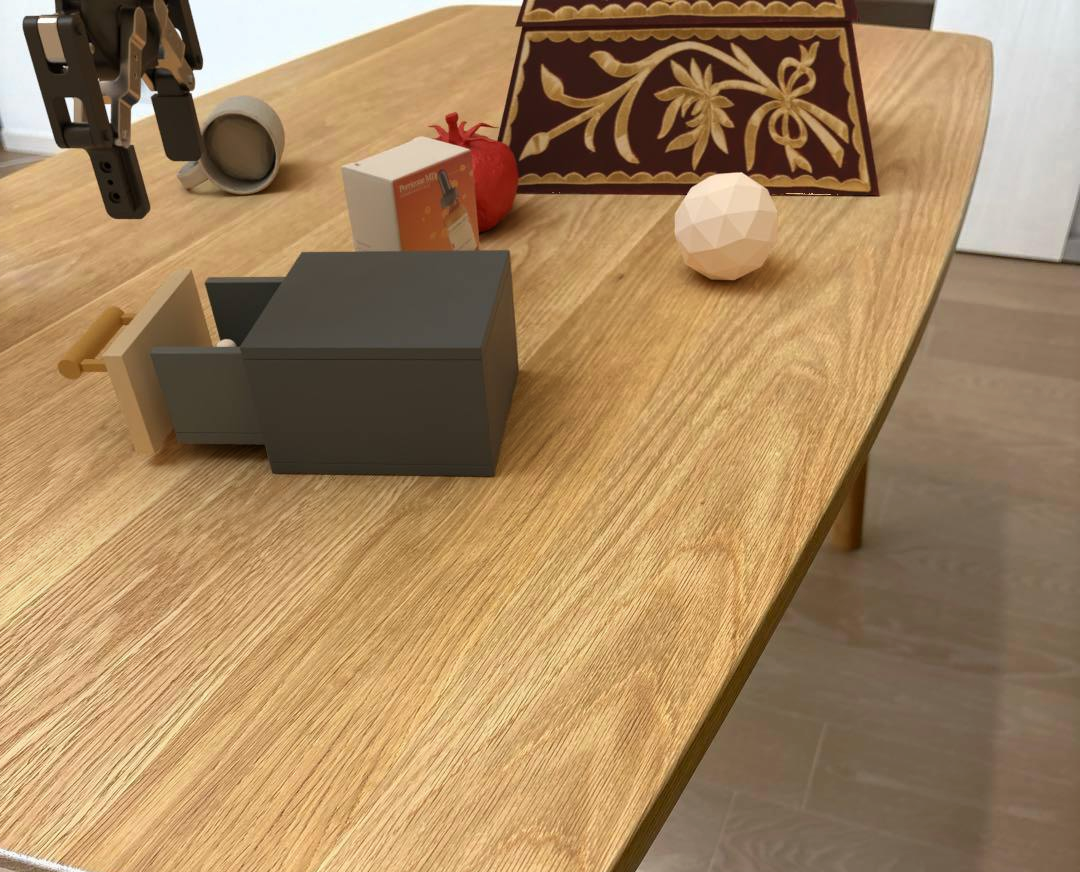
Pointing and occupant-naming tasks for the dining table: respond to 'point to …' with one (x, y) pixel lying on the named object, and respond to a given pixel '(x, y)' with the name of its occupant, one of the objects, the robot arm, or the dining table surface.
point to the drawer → (180, 361)
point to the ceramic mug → (238, 147)
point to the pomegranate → (485, 170)
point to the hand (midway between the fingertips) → (160, 186)
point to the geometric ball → (726, 226)
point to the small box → (413, 198)
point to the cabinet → (386, 363)
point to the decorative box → (688, 97)
